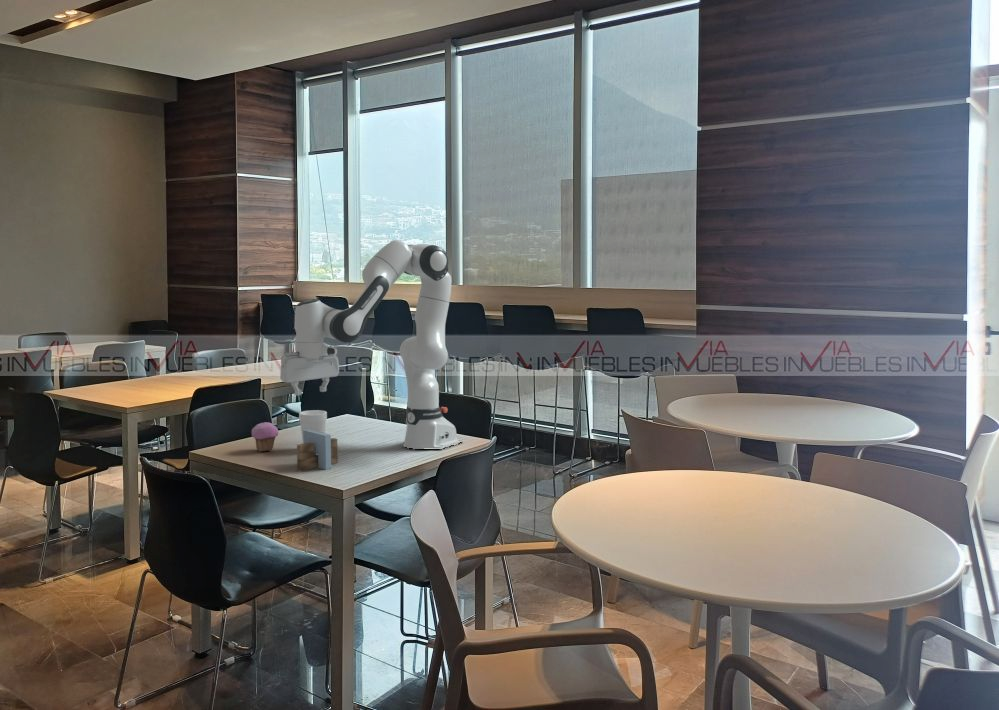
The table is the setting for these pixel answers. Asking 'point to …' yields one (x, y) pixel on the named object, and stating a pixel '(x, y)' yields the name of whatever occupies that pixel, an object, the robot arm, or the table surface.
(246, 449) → the table surface
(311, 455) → the notched wood cradle
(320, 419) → the foam cup
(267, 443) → the cupcake
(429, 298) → the robot arm
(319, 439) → the pale blue arch brick
